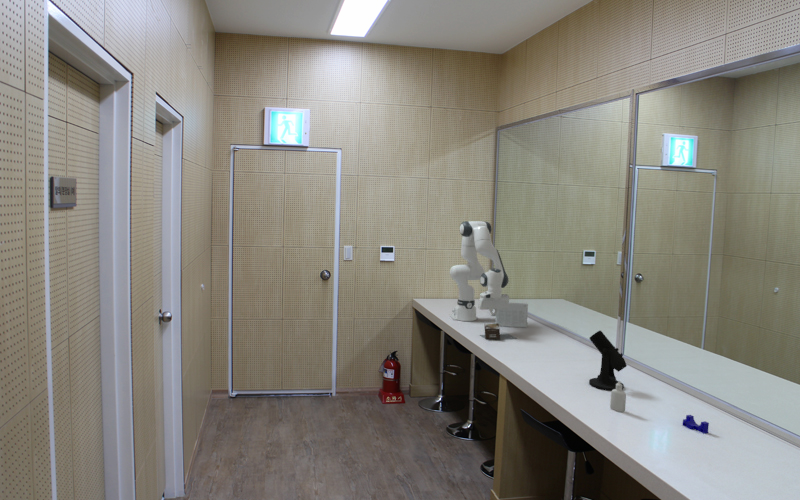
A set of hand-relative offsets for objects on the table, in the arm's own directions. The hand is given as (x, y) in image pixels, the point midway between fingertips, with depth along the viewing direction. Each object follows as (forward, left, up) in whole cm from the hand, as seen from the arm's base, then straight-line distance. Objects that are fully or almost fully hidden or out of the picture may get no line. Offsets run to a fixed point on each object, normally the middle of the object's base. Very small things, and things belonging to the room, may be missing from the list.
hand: (493, 316), depth 340 cm
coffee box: (0, -1, -8) cm, 8 cm away
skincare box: (-19, +23, -12) cm, 32 cm away
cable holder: (+149, +10, -12) cm, 150 cm away
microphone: (+100, +8, -12) cm, 101 cm away
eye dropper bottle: (+127, -7, -12) cm, 128 cm away
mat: (+8, 0, -11) cm, 14 cm away
